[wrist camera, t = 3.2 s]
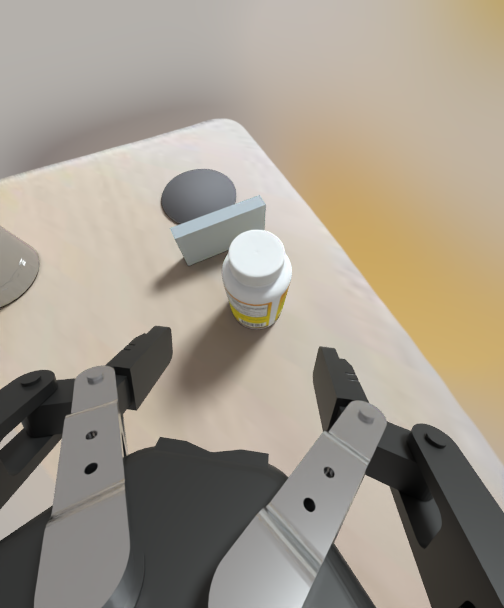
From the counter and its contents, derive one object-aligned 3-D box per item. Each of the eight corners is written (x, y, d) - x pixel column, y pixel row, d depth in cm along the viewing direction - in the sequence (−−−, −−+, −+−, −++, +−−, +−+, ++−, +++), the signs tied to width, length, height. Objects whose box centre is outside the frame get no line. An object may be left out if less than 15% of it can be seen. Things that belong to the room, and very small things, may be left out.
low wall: (188, 266, 27) (174, 239, 23) (184, 256, 28) (170, 228, 23) (264, 235, 29) (265, 204, 24) (258, 227, 29) (259, 195, 25)
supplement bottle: (266, 276, 27) (272, 209, 17) (291, 316, 25) (313, 266, 15) (222, 296, 26) (203, 238, 16) (245, 340, 24) (238, 302, 14)
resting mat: (149, 216, 30) (148, 214, 30) (180, 164, 34) (179, 162, 33) (221, 234, 29) (221, 232, 29) (245, 178, 33) (245, 177, 32)
